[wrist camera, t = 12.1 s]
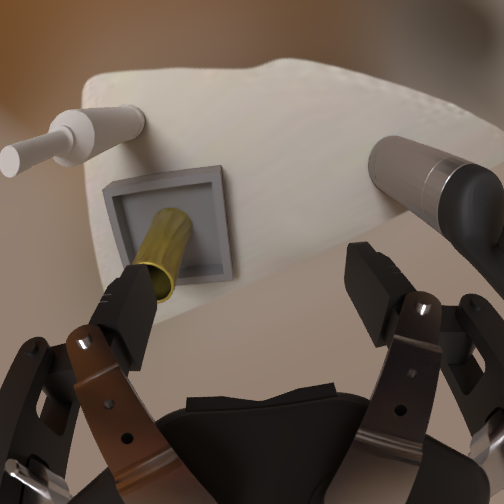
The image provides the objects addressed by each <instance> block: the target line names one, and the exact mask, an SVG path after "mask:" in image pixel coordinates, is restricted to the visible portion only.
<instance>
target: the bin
mask: <svg viewBox="0 0 504 504" xmlns="http://www.w3.org/2000/svg"><path fill="white" fill-rule="evenodd" d="M102 191H103V196H104V200H105V204H106V208H107V212H108V216H109V220H110V223H111V227H112V231H113V234H114V238H115V241H116V245H117V248H118V251H119V255H120V258H121V261H122V264H123V267H124V269H125V267H126V266H127V265H132V263H133V261H134V259H135V257H136V255H137V253H138V250H139V248H140V246H141V244H142V242H143V240H144V238H145V236H146V234H147V231H148V229H149V227H150V225H151V223H152V219H153V217H154V216H155V214H156V213H157V212H159V211H160V210H162V209H165V208H176V209H179V210H181V211H183V212H184V213H185V214H186V215H187V216H188V217H189V219H190V220H191V223H192V235H191V237H190V238H189V240H188V242H187V244H186V247H185V250H184V253H183V256H182V261H181V265H180V269H179V273H178V277H177V281H176V285H187V284H198V283H209V282H220V281H230V280H233V266H232V257H231V249H230V241H229V233H228V224H227V215H226V207H225V198H224V189H223V180H222V170H221V165H217V166H208V167H200V168H192V169H185V170H178V171H171V172H164V173H158V174H151V175H145V176H140V177H134V178H128V179H123V180H118V181H113V182H111V183H110V184H109V185H107V186H106V187H105V188H104V189H102Z"/></svg>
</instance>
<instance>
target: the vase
mask: <svg viewBox="0 0 504 504" xmlns="http://www.w3.org/2000/svg"><path fill="white" fill-rule="evenodd" d="M191 235H192V223H191V220H190V219H189V217H188V216H187V215H186V214H185V213H184V212H183V211H181V210H179V209H176V208H165V209H162V210H160V211H159V212H157V213H156V214H155V216H154V217H153V219H152V223H151V225H150V227H149V229H148V231H147V234H146V236H145V238H144V240H143V242H142V244H141V246H140V248H139V250H138V253H137V255H136V257H135V259H134V261H133V263H132V264H142V263H145V264H146V266H147V268H148V271H149V274H150V277H151V281H152V284H153V287H154V290H155V293H156V297H157V303H162V302H164V301H166V300H168V299H169V298H170V297H171V295H172V293H173V291H174V289H175V286H176V281H177V277H178V273H179V269H180V265H181V261H182V256H183V253H184V250H185V247H186V244H187V242H188V240H189V238H190V237H191Z"/></svg>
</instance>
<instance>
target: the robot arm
mask: <svg viewBox="0 0 504 504" xmlns="http://www.w3.org/2000/svg"><path fill="white" fill-rule="evenodd" d="M368 165H369V174H370V177H371V179H372V181H373V183H374V184H375V185H376V187H378V188H379V189H380V190H382V191H383V192H385V193H386V194H387V195H389V196H390V197H392V198H393V199H394V200H396V201H397V202H399V203H400V204H401V205H403V206H404V207H406V208H407V209H408V210H410V211H411V212H412V213H414V214H415V215H417V216H418V217H419V218H421V219H422V220H423V221H425V222H426V223H427V224H428V225H430V226H431V227H432V228H434V229H435V230H436V231H437V232H439V233H440V234H441V235H442V236H444V237H445V238H446V239H447V240H448V241H450V242H451V244H452V245H453V246H454V248H455V249H456V250H457V251H458V252H459V253H460V254H461V255H462V256H463V257H465V258H466V259H467V260H468V261H469V262H470V263H471V264H472V265H473V266H474V267H475V268H476V269H477V270H478V272H479V273H480V274H481V275H482V276H483V277H484V278H485V279H486V280H487V282H488V283H489V284H490V285H491V286H492V287H493V288H494V290H495V291H496V292H497V293H498V294H499V295H500V296H501V297H502V299H503V300H504V189H503V186H502V183H501V181H500V180H499V178H498V177H497V176H496V175H495V174H494V173H493V172H492V171H490V170H488V169H487V168H484V167H482V166H480V165H477V164H475V163H473V162H470V161H468V160H465V159H463V158H460V157H457V156H455V155H452V154H450V153H447V152H444V151H442V150H439V149H436V148H433V147H430V146H427V145H424V144H421V143H418V142H415V141H412V140H409V139H406V138H402V137H399V136H389V137H386V138H384V139H382V140H381V141H379V142H378V143H377V144H376V145H375V147H374V148H373V150H372V152H371V155H370V158H369V164H368ZM344 282H345V288H346V291H347V293H348V295H349V297H350V298H351V300H352V302H353V304H354V306H355V308H356V310H357V312H358V314H359V316H360V317H361V319H362V321H363V323H364V325H365V327H366V329H367V331H368V333H369V335H370V337H371V339H372V341H373V343H374V345H375V347H376V348H377V347H381V346H385V345H387V347H388V352H387V355H386V358H385V361H384V364H383V366H382V369H381V372H380V375H379V377H378V380H377V382H376V385H375V388H374V390H373V393H372V395H371V397H370V400H368V399H366V398H364V397H361V396H358V395H354V394H348V393H342V392H336V389H335V385H334V383H329V384H322V385H317V386H311V387H304V388H298V389H295V390H293V391H290V392H287V393H285V394H282V395H279V396H276V397H273V398H270V399H267V400H264V401H253V400H245V399H238V398H230V397H224V396H217V397H189V398H188V397H187V401H186V408H183V409H179V410H177V411H174V412H172V413H170V414H167V415H165V416H164V417H162V418H160V419H159V420H157V421H155V420H154V419H153V417H152V416H151V414H150V413H149V411H148V410H147V408H146V407H145V405H144V403H143V402H142V400H141V399H140V397H139V396H138V394H137V392H136V391H135V389H134V388H133V386H132V384H131V383H130V381H129V379H128V378H127V377H128V373H129V371H140V370H141V366H142V362H143V358H144V354H145V350H146V346H147V343H148V339H149V335H150V331H151V328H152V324H153V321H154V317H155V314H156V310H157V297H156V293H155V290H154V287H153V284H152V281H151V277H150V274H149V271H148V268H147V266H146V264H145V263H142V264H132V265H127V266H126V267H125V269H124V271H123V273H122V275H121V276H120V278H116V279H115V280H114V281H113V282H112V283H111V284H110V285H108V287H107V289H106V291H105V293H104V296H102V298H101V300H100V303H99V304H98V306H97V308H96V310H95V312H94V313H93V315H92V317H91V320H90V322H89V324H87V325H82V326H80V327H78V328H76V329H75V330H73V331H72V332H71V333H70V335H69V336H68V338H67V340H66V343H64V344H61V345H57V346H52V347H50V346H49V344H48V343H47V341H46V340H45V339H44V338H43V337H34V338H31V339H29V340H28V341H26V342H25V343H24V344H23V345H22V346H21V348H20V349H19V351H18V353H17V355H16V357H15V359H14V361H13V363H12V365H11V367H10V369H9V371H8V373H7V376H6V378H5V380H4V382H3V384H2V387H1V389H0V504H489V501H490V497H492V496H493V495H495V494H496V493H498V492H499V491H501V490H503V489H504V320H503V319H502V318H501V316H500V315H499V314H498V313H497V311H496V310H495V309H494V308H493V306H492V305H491V304H490V303H489V302H488V301H487V300H486V299H485V298H483V297H482V296H479V295H477V294H466V295H464V296H463V297H462V298H461V300H460V303H459V306H444V305H441V303H440V301H439V300H438V299H437V298H436V297H435V296H434V295H432V294H430V293H427V292H423V291H417V290H416V289H415V288H414V287H413V285H412V284H411V283H410V282H409V281H408V279H407V278H406V277H405V276H404V274H403V273H401V271H400V270H399V268H398V267H396V265H395V264H394V263H393V261H392V260H391V259H390V258H389V257H387V256H385V255H384V254H382V253H380V252H376V251H375V250H374V249H373V248H372V246H371V245H370V244H369V243H368V242H356V243H349V244H348V247H347V256H346V265H345V275H344ZM475 348H477V349H478V351H479V352H480V354H481V356H482V357H483V359H484V361H485V372H484V373H483V371H482V370H481V368H480V366H479V364H478V363H477V361H476V359H475V358H474V356H473V355H472V353H473V351H474V349H475ZM440 369H441V371H442V373H443V375H444V376H445V379H446V381H447V383H448V385H449V387H450V389H451V391H452V393H453V395H454V397H455V399H456V401H457V403H458V406H459V408H460V410H461V412H462V414H463V417H464V419H465V422H466V424H467V426H468V429H469V431H470V433H471V436H472V440H471V443H470V452H469V454H468V457H467V456H465V455H464V454H461V453H459V452H458V451H456V450H454V449H452V448H451V447H449V446H447V445H445V444H443V443H441V442H440V441H438V440H436V439H434V438H433V437H431V436H429V435H427V434H426V431H427V427H428V423H429V420H430V415H431V411H432V407H433V402H434V398H435V393H436V388H437V382H438V377H439V371H440ZM41 390H42V391H43V392H44V393H45V394H46V395H47V397H46V400H45V403H44V406H43V409H42V412H41V415H40V418H39V417H38V415H37V412H36V405H37V401H38V399H39V396H40V393H41ZM80 406H81V408H82V411H83V413H84V416H85V418H86V420H87V423H88V425H89V428H90V430H91V432H92V434H93V437H94V439H95V441H96V443H97V445H98V447H99V449H100V451H101V453H102V455H103V458H104V459H105V461H106V463H107V465H108V467H107V468H106V469H105V470H104V471H103V472H102V473H100V474H99V475H98V476H97V477H96V478H95V479H94V480H93V481H92V482H90V483H89V484H88V485H87V486H86V487H85V488H84V489H82V490H81V491H80V492H79V493H78V494H77V495H76V496H74V497H72V495H71V494H70V493H69V488H68V486H67V483H66V482H65V474H66V468H67V462H68V457H69V452H70V447H71V442H72V437H73V433H74V429H75V424H76V420H77V416H78V412H79V408H80Z"/></svg>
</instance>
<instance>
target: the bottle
mask: <svg viewBox="0 0 504 504" xmlns="http://www.w3.org/2000/svg"><path fill="white" fill-rule="evenodd" d="M144 121H145V119H144V116H143V113H142V112H141V111H140V109H139V108H137V107H135V106H133V105H121V106H119V107H104V108H87V109H74V110H66V111H65V112H63V113H61V114H59V115H58V116H57V117H56V118H55V119H54V121H53V122H52V123H51V126H50V128H49V131H48V134H44V135H41V136H38V137H35V138H32V139H29V140H24V141H20V142H17V143H14V144H11V145H8V146H6V147H5V148H3V150H2V151H1V153H0V169H1V171H2V173H3V174H4V175H5V176H7V177H13V176H15V175H17V174H19V173H21V172H23V171H25V170H27V169H29V168H31V167H32V166H34V165H36V164H38V163H40V162H43V161H45V160H47V159H50V158H52V157H53V159H54V160H55V161H56V162H57V163H58V164H60V165H62V166H64V167H75V166H77V165H80V164H82V163H84V162H86V161H87V160H89V159H91V158H93V157H95V156H97V155H98V154H100V153H102V152H104V151H106V150H108V149H110V148H112V147H114V146H116V145H118V144H120V143H122V142H127V141H130V140H133V139H135V138H136V137H137V136H138V135H139V134H140V133H141V131H142V129H143V127H144Z"/></svg>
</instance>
